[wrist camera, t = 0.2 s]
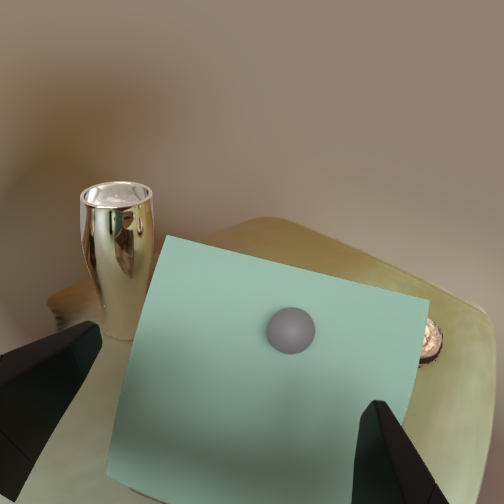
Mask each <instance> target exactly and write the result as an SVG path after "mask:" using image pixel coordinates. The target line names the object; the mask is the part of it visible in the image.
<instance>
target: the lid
mask: <svg viewBox="0 0 504 504" xmlns="http://www.w3.org/2000/svg"><path fill="white" fill-rule="evenodd" d="M429 301H430V300H426V299H421V298H417V297H413V296H409V295H405V294H401V293H397V292H393V291H389V290H385V289H381V288H377V287H372V286H368V285H364V284H360V283H356V282H352V281H348V280H344V279H340V278H336V277H332V276H328V275H324V274H320V273H316V272H312V271H308V270H304V269H300V268H296V267H292V266H288V265H284V264H280V263H276V262H272V261H268V260H264V259H260V258H256V257H252V256H248V255H244V254H240V253H236V252H232V251H228V250H224V249H220V248H216V247H212V246H208V245H204V244H200V243H196V242H193V241H189V240H184V239H181V238H177V237H172V236H169V235H167V236H166V239H165V242H164V245H163V248H162V251H161V253H160V256H159V259H158V262H157V265H156V268H155V271H154V274H153V277H152V280H151V283H150V287H149V290H148V293H147V296H146V299H145V303H144V306H143V309H142V313H141V316H140V320H139V323H138V327H137V330H136V334H135V337H134V341H133V345H132V349H131V352H130V356H129V360H128V364H127V368H126V372H125V376H124V381H123V385H122V389H121V394H120V398H119V403H118V408H117V412H116V417H115V423H114V428H113V433H112V439H111V444H110V450H109V456H108V463H107V470H106V476H108V477H110V478H112V479H113V480H116V481H118V482H120V483H122V484H124V485H126V486H128V487H130V488H132V489H135V490H137V491H139V492H141V493H144V494H146V495H149V496H151V497H153V498H156V499H159V500H161V501H164V502H166V503H169V504H351V499H352V486H353V470H354V458H355V451H356V444H357V438H358V430H359V423H360V417H361V415H362V413H363V412H364V410H365V409H366V408H367V406H368V405H369V404H370V402H371V401H372V400H383V401H385V402H386V403H387V404H388V406H389V407H390V409H391V410H392V412H393V414H394V415H395V417H396V418H397V420H398V421H399V423H400V425H401V426H402V423H403V420H404V417H405V414H406V410H407V407H408V403H409V400H410V396H411V393H412V389H413V385H414V381H415V377H416V373H417V369H418V364H419V360H420V355H421V350H422V345H423V340H424V334H425V328H426V322H427V316H428V309H429Z"/></svg>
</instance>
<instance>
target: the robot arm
mask: <svg viewBox="0 0 504 504" xmlns="http://www.w3.org/2000/svg"><path fill="white" fill-rule="evenodd" d="M101 347H102V337H101V332H100V328H99V325H98V324H96V323H94V322H92V321H84V322H82V323H79V324H77V325H75V326H72V327H70V328H67V329H65V330H62V331H60V332H57V333H55V334H52V335H50V336H47V337H45V338H42V339H39V340H37V341H34V342H32V343H30V344H27V345H25V346H22V347H20V348H17V349H14V350H12V351H9V352H7V353H5V354H4V355H3V354H2V355H0V494H1V495H3V496H4V497H6V498H8V499H9V500H11V501H12V502H15V501H16V500H17V498H18V496H19V494H20V492H21V490H22V488H23V486H24V484H25V482H26V480H27V478H28V476H29V474H30V472H31V471H32V469H33V467H34V464H35V463H36V461H37V459H38V457H39V456H40V454H41V452H42V450H43V448H44V447H45V445H46V443H47V441H48V440H49V438H50V436H51V435H52V433H53V431H54V429H55V428H56V426H57V424H58V423H59V421H60V419H61V418H62V416H63V414H64V413H65V411H66V410H67V408H68V406H69V405H70V403H71V401H72V400H73V398H74V397H75V395H76V394H77V392H78V390H79V389H80V387H81V386H82V384H83V382H84V381H85V379H86V377H87V375H88V373H89V371H90V369H91V367H92V365H93V363H94V361H95V359H96V357H97V355H98V353H99V351H100V349H101ZM351 504H449V502H448V501H447V499H446V498H445V496H444V495H443V493H442V491H441V490H440V488H439V486H438V485H437V483H435V480H434V478H433V477H432V475H431V473H430V472H429V470H428V468H427V467H426V465H425V463H424V462H423V460H422V458H421V457H420V455H419V454H418V452H417V450H416V449H415V447H414V445H413V444H412V442H411V441H410V439H409V437H408V436H407V434H406V433H405V431H404V429H403V428H402V426H401V425H400V423H399V421H398V420H397V418H396V417H395V415H394V414H393V412H392V410H391V409H390V407H389V406H388V404H387V403H386V402H385V401H383V400H372V401H371V402H370V404H369V405H368V406H367V408H366V409H365V410H364V412H363V413H362V415H361V417H360V423H359V430H358V438H357V444H356V451H355V458H354V470H353V486H352V499H351Z"/></svg>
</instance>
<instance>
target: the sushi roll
mask: <svg viewBox="0 0 504 504" xmlns="http://www.w3.org/2000/svg"><path fill="white" fill-rule="evenodd" d="M429 316H430V315H429ZM436 324H437V325H438V323H436ZM436 324H435V322H432V320H430V319H429V317H427V322H426V328H425V334H424V340H423V345H422V350H421V355H420V360H419V364H418V368H420V367H421V366H422V365H424V364H429V363H430V362H432V361H433V360H434V359H435V358H437V357H438V354H439V353H440V351H442V350H441V349H442V339H443V334H442V333H441V328H440V326H439V325H438V326H436ZM435 361H436V360H435Z"/></svg>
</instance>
